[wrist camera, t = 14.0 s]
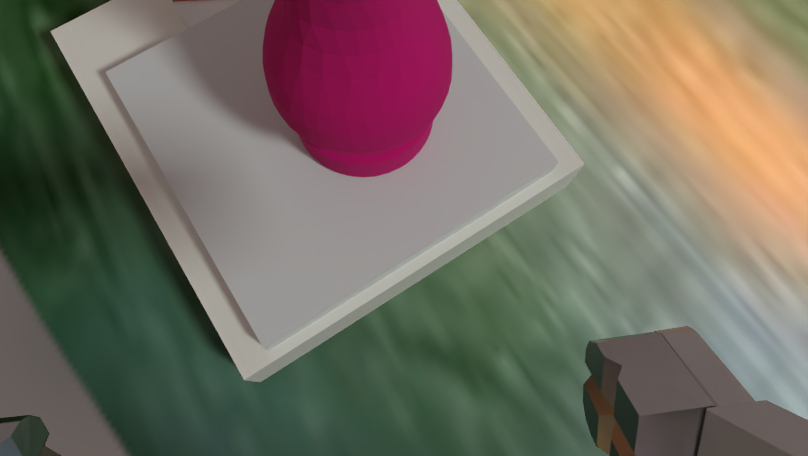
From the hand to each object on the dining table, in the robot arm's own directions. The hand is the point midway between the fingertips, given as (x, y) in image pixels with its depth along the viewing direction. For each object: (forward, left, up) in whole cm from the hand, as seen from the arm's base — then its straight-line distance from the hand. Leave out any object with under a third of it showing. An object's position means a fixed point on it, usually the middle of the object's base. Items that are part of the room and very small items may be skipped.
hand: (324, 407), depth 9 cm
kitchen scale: (+14, -5, -20) cm, 25 cm away
